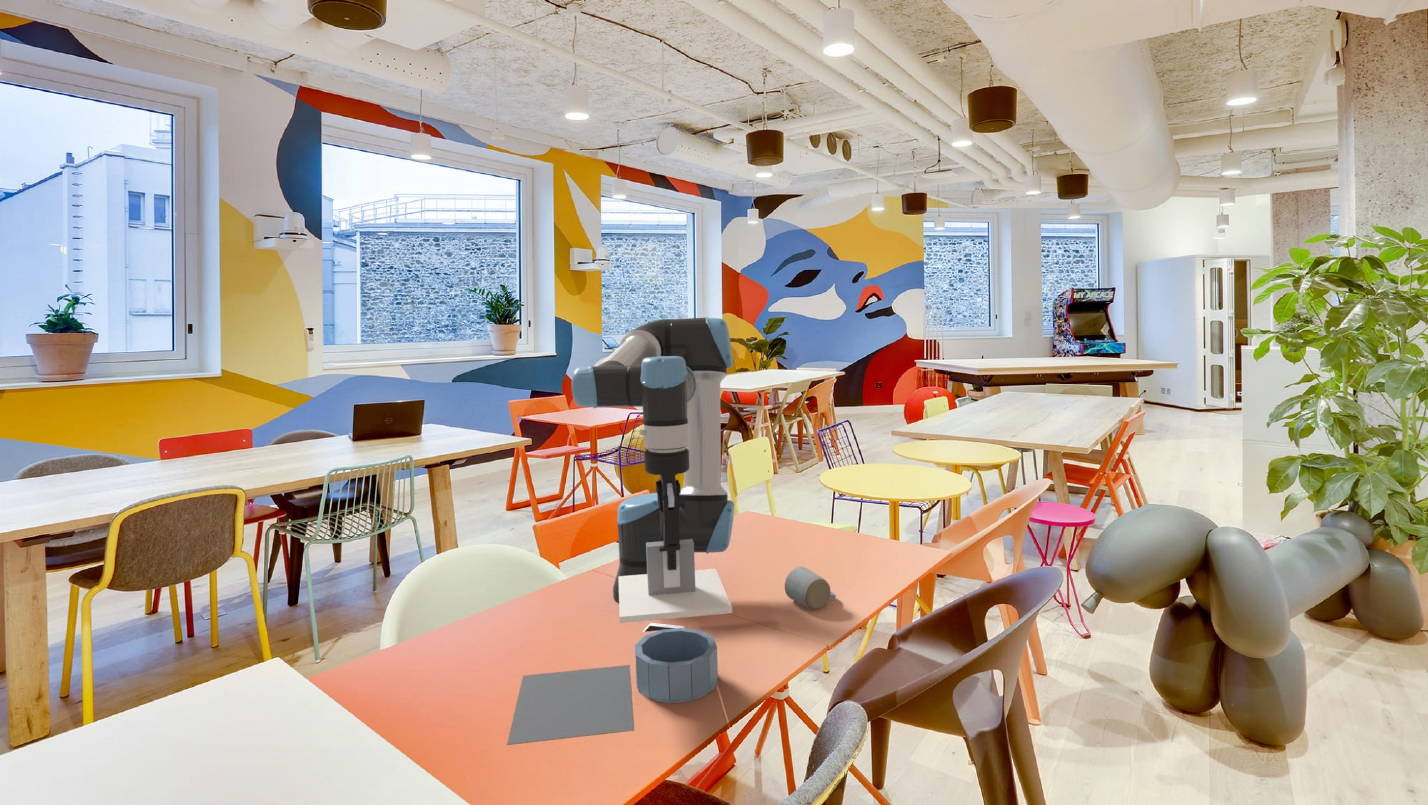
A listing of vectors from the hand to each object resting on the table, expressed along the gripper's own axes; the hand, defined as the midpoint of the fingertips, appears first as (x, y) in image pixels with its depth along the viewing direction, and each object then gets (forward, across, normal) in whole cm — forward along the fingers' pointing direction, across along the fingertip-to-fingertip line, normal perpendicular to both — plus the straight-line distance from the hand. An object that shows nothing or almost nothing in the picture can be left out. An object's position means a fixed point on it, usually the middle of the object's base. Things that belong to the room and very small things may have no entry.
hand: (671, 582), depth 120 cm
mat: (+18, +3, -17) cm, 25 cm away
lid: (+2, 0, 0) cm, 2 cm away
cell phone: (+19, -17, -3) cm, 26 cm away
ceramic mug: (+19, -29, +33) cm, 48 cm away
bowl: (+18, 0, 0) cm, 18 cm away
